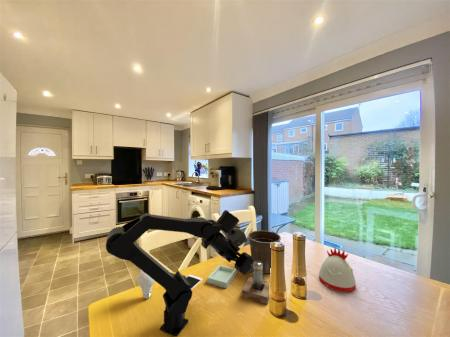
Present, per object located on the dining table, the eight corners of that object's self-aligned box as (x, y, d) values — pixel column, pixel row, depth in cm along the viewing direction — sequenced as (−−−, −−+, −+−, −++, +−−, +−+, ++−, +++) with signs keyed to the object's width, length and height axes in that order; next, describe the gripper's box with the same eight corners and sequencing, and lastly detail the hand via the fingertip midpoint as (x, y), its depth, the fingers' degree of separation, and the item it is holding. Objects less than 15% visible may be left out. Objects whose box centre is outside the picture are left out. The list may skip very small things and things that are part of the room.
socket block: (267, 304, 71) (267, 297, 71) (241, 296, 75) (241, 290, 75) (272, 288, 80) (272, 282, 80) (249, 282, 84) (249, 276, 84)
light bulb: (150, 290, 79) (150, 263, 79) (159, 297, 75) (159, 269, 75) (134, 298, 74) (134, 270, 74) (142, 306, 70) (142, 276, 69)
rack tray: (226, 288, 80) (226, 282, 80) (207, 283, 84) (207, 277, 84) (236, 273, 91) (236, 268, 91) (219, 269, 95) (219, 264, 95)
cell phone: (163, 295, 76) (163, 294, 76) (189, 275, 90) (189, 274, 90) (179, 302, 73) (179, 300, 73) (203, 280, 87) (203, 278, 87)
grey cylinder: (261, 296, 75) (261, 266, 75) (251, 293, 77) (252, 264, 77) (263, 291, 79) (263, 261, 79) (254, 288, 80) (254, 260, 80)
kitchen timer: (354, 296, 76) (354, 258, 76) (316, 283, 84) (316, 249, 84) (356, 280, 87) (356, 246, 87) (322, 269, 95) (323, 239, 95)
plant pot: (275, 280, 86) (275, 244, 86) (242, 270, 94) (242, 237, 94) (284, 264, 100) (284, 233, 100) (254, 257, 108) (254, 228, 108)
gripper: (249, 233, 64) (274, 258, 69) (222, 219, 80) (243, 240, 86) (229, 262, 60) (256, 286, 66) (204, 241, 76) (228, 262, 82)
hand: (245, 266), depth 75 cm, fingers open, 9 cm apart
